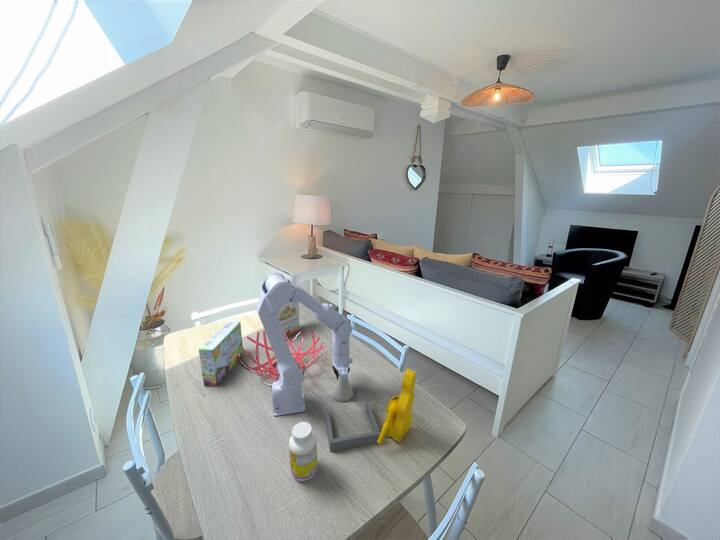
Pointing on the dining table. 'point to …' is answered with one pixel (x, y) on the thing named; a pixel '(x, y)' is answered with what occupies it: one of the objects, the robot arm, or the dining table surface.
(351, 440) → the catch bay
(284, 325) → the cracker box
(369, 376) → the dining table surface
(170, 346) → the dining table surface
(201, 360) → the snack box
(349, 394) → the flask
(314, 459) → the supplement bottle
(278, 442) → the dining table surface
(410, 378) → the figure statuette
